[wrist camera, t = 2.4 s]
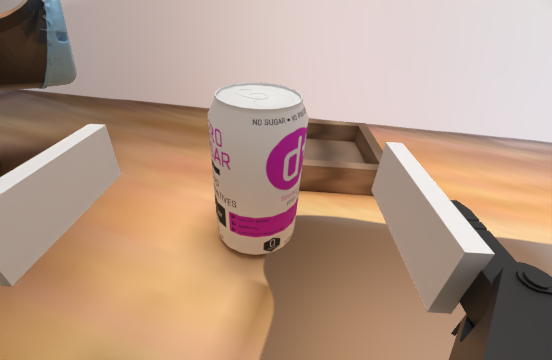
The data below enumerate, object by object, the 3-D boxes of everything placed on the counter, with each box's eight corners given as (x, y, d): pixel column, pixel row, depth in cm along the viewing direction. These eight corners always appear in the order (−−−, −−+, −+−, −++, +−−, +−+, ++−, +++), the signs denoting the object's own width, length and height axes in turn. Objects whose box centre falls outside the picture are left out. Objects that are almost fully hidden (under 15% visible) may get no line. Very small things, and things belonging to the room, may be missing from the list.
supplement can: (306, 227, 30) (329, 95, 22) (259, 274, 25) (265, 122, 17) (253, 197, 34) (255, 76, 26) (202, 232, 29) (183, 92, 20)
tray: (269, 188, 36) (270, 162, 34) (274, 137, 50) (275, 117, 47) (386, 196, 36) (395, 171, 34) (360, 143, 50) (365, 123, 47)
